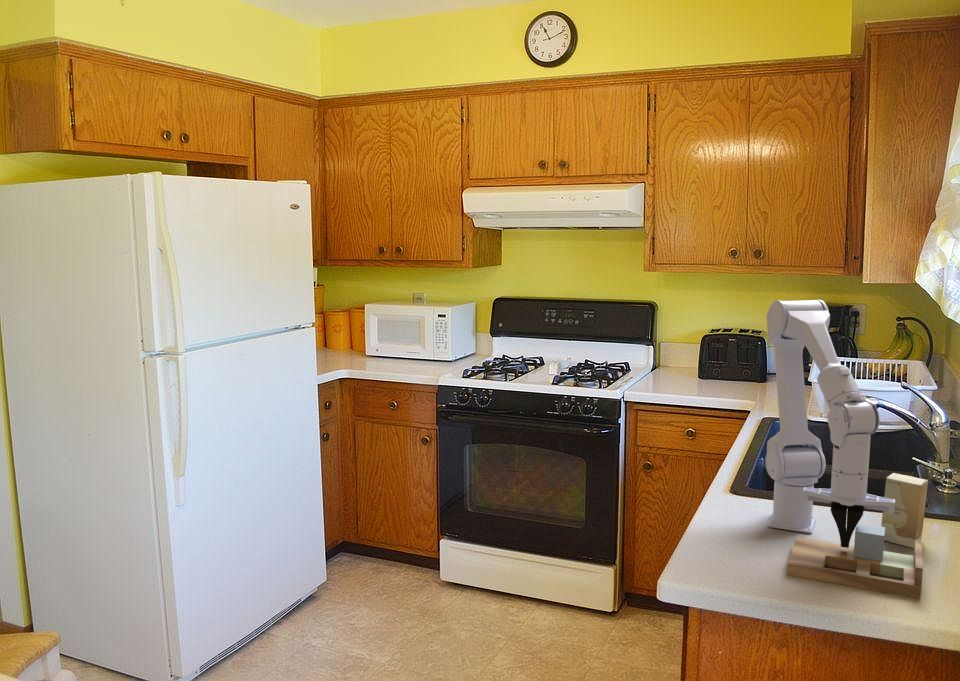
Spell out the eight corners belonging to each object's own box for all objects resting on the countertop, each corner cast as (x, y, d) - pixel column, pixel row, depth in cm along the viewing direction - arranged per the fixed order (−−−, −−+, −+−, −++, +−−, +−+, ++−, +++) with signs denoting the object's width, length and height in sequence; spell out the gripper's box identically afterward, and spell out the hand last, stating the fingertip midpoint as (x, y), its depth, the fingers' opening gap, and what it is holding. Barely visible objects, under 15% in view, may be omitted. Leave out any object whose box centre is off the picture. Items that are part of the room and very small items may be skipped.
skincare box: (879, 540, 156) (883, 477, 154) (886, 533, 159) (891, 471, 157) (916, 549, 152) (921, 484, 150) (923, 542, 155) (928, 478, 153)
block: (854, 547, 147) (856, 522, 147) (883, 551, 145) (884, 527, 145) (853, 556, 143) (855, 531, 143) (882, 561, 141) (884, 535, 141)
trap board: (795, 547, 152) (797, 521, 152) (919, 567, 144) (921, 540, 143) (786, 574, 141) (788, 546, 140) (920, 598, 132) (922, 568, 131)
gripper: (802, 470, 143) (798, 546, 145) (896, 482, 137) (890, 561, 139) (806, 460, 150) (802, 532, 152) (897, 471, 143) (891, 546, 145)
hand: (845, 545), depth 146 cm, fingers closed
